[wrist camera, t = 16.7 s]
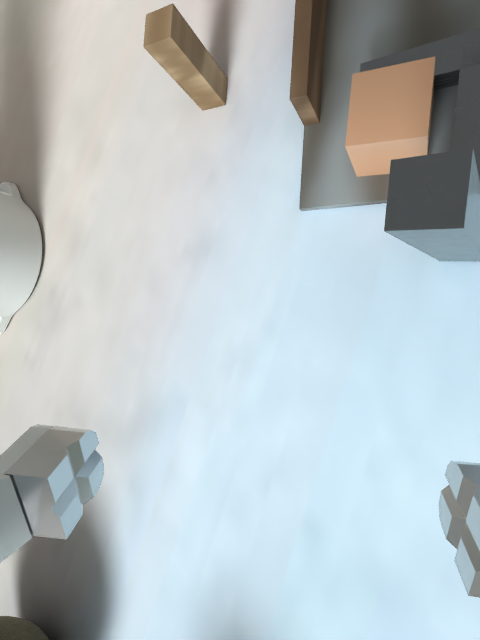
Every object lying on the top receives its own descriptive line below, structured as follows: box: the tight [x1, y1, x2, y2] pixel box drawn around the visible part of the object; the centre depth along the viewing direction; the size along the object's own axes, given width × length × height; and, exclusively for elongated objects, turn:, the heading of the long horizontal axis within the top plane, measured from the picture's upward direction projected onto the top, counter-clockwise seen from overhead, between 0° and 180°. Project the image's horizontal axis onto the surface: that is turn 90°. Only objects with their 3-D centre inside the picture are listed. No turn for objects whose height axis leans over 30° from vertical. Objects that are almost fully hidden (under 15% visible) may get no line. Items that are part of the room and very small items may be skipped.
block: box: [345, 57, 435, 177], centre depth 23 cm, size 4×4×4 cm
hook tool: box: [360, 28, 480, 261], centre depth 19 cm, size 8×13×14 cm, turn 174°
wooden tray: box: [290, 0, 480, 211], centre depth 24 cm, size 14×19×4 cm
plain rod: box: [144, 4, 228, 110], centre depth 29 cm, size 2×2×8 cm
